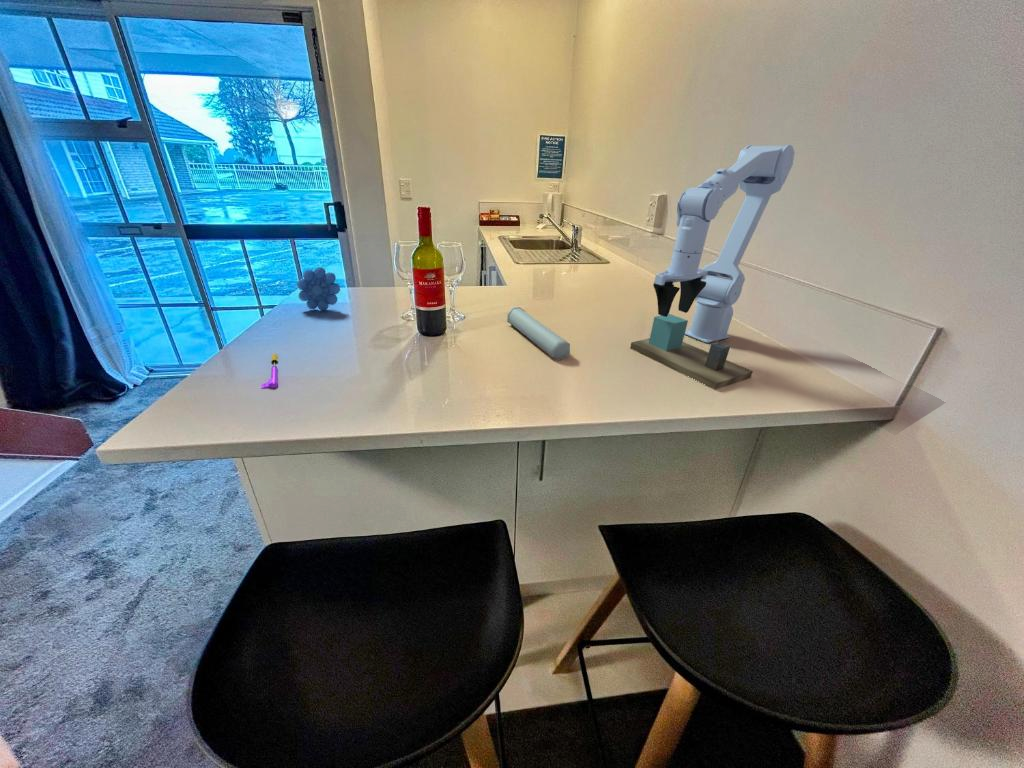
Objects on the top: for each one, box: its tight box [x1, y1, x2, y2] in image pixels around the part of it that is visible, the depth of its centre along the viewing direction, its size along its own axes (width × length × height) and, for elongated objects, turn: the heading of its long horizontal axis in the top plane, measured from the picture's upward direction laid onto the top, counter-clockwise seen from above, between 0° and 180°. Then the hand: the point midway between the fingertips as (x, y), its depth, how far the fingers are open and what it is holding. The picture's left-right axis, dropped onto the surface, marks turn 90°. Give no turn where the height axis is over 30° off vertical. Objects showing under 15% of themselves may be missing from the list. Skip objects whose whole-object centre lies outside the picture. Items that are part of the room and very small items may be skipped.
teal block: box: [648, 313, 689, 351], centre depth 93 cm, size 5×5×7 cm
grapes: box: [296, 266, 341, 312], centre depth 109 cm, size 12×7×12 cm, turn 90°
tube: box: [506, 306, 571, 361], centre depth 97 cm, size 5×5×25 cm
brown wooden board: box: [629, 337, 754, 391], centre depth 90 cm, size 12×23×2 cm, turn 30°
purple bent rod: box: [260, 352, 279, 390], centre depth 78 cm, size 3×1×16 cm
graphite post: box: [705, 341, 731, 371], centre depth 83 cm, size 3×3×5 cm
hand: (672, 313), depth 90 cm, fingers open, 6 cm apart
